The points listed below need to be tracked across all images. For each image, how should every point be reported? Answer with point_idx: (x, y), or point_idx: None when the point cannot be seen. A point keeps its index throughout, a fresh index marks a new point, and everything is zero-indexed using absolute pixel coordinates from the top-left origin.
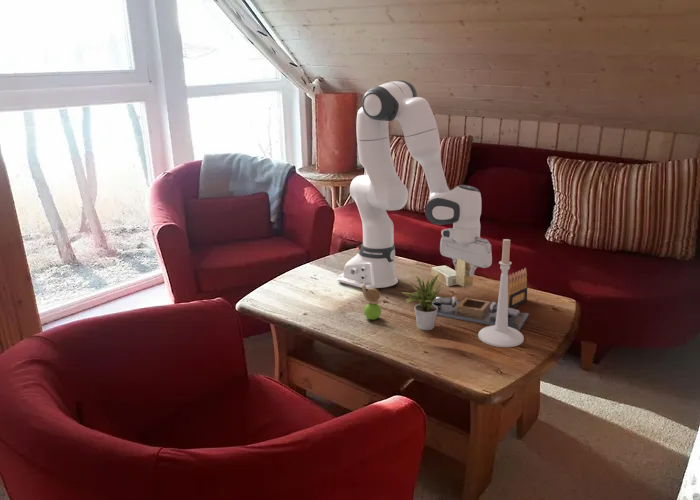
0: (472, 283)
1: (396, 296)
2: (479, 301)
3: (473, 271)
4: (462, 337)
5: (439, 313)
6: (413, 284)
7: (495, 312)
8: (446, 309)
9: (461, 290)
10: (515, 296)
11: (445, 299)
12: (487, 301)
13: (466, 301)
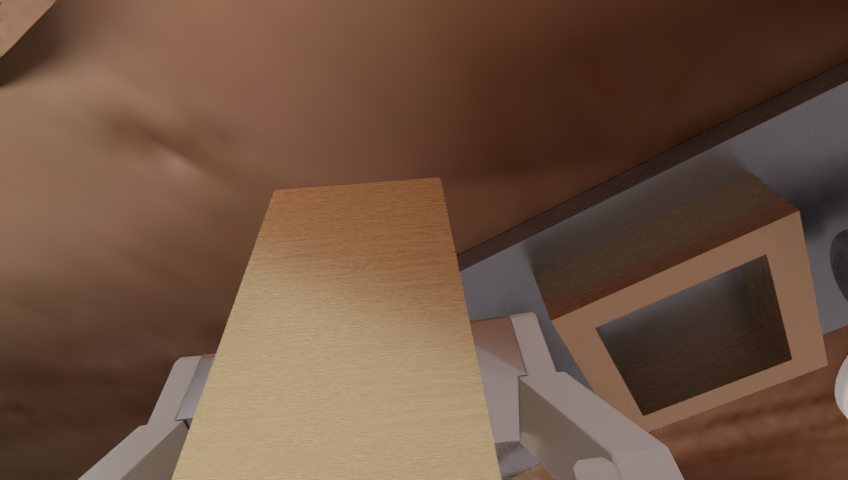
0: (442, 188)
1: None
2: (702, 280)
3: (552, 382)
4: (781, 465)
5: None
6: None
7: (827, 187)
8: None
9: (123, 7)
10: None
11: (517, 474)
12: (768, 229)
13: (602, 342)
